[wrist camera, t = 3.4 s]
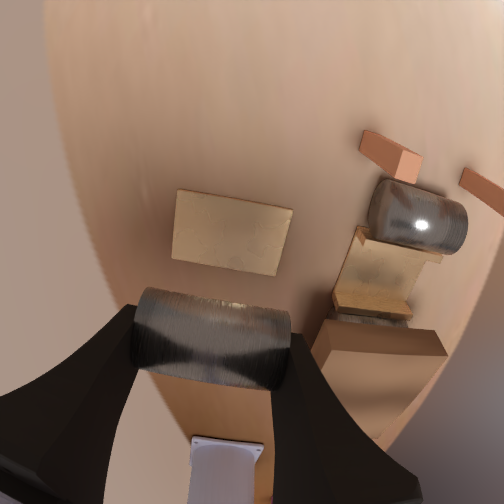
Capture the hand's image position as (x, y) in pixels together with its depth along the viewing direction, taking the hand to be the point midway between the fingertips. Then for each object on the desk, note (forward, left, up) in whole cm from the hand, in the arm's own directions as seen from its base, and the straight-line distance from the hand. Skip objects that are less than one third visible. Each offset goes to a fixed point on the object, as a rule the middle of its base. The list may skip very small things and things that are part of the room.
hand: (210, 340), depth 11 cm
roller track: (-4, -5, -8) cm, 10 cm away
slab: (-7, -10, -5) cm, 14 cm away
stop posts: (+7, -10, -8) cm, 15 cm away
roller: (0, 0, -1) cm, 1 cm away
